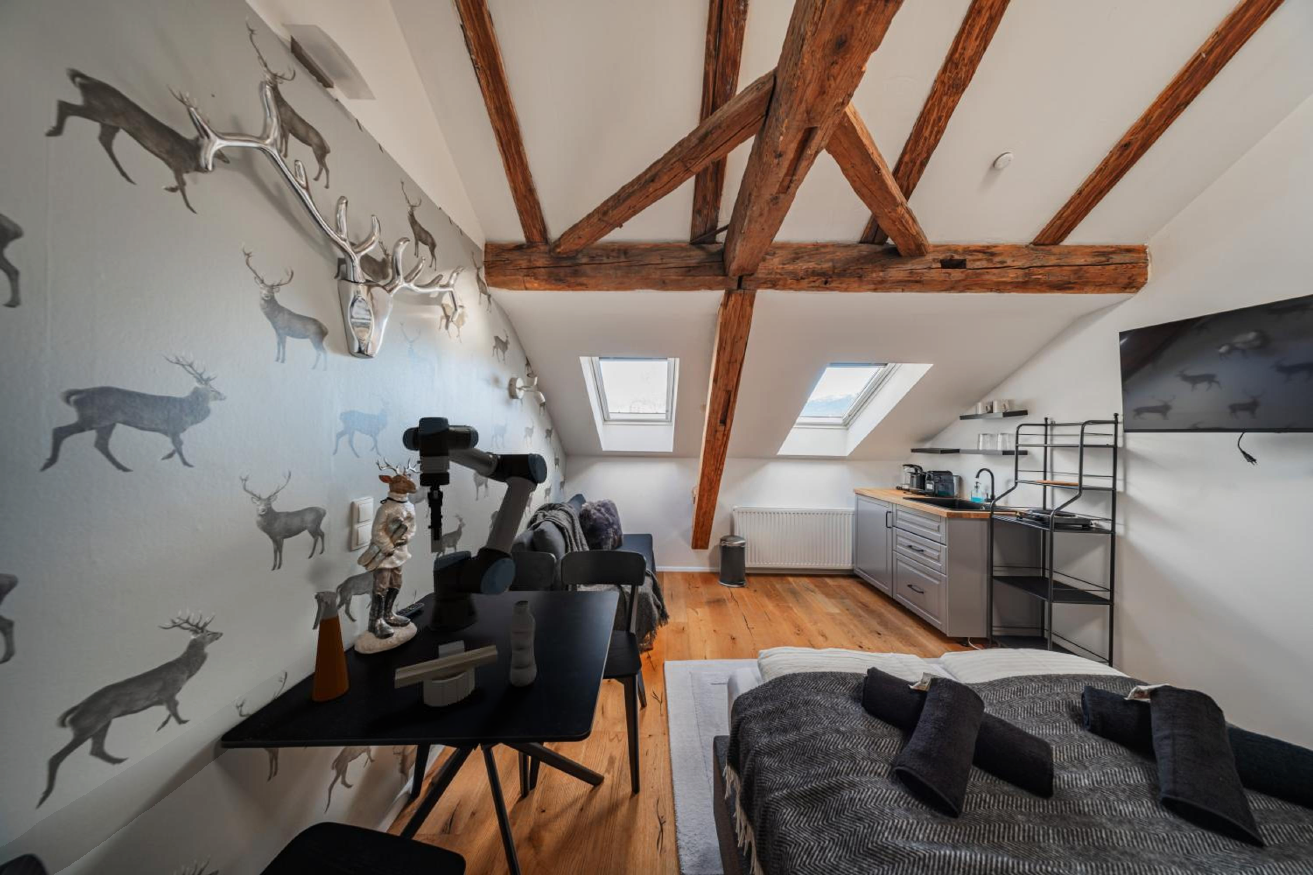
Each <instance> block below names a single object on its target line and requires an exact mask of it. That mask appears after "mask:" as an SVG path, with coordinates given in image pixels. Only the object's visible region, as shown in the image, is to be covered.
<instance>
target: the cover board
mask: <svg viewBox="0 0 1313 875" xmlns="http://www.w3.org/2000/svg"><path fill="white" fill-rule="evenodd" d="M497 662H499V655H498V649H497V648H496V645H495V644H492V645H490V646H484V647H481V648H477V649H472V650H470V651H469V650H468V651H465V652H464V653H460V654H456V655H452V656H448V657H444V658H440V659H439V658H437V659H433V660H429V661H424V662H419V663H417V664H416V663H415V664H412V665H409V666H404V667H400V668H396V669H395V674H394V675H395V677H394V689H398V688H402V687H406V686H409V685H414V684H418V683H421V682H423V681H425V680H429V679H433V678H437V677H440V676H444V675H448V674H452V673H455V672H459V671H463V670H467V669H471V668H474V669H475V668H477V667H482V666H485V665H489V664H494V663H497Z"/></svg>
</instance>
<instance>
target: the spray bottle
mask: <svg viewBox="0 0 1313 875" xmlns="http://www.w3.org/2000/svg"><path fill="white" fill-rule="evenodd" d="M338 598H339V594H338V593H336V592H335V591H331V590H323V591H318V592H316V594H315V595H314V599H315V600H316V603H317V610H316V616H315V617H314V623H313V626H312V631H313V630H315V631H316V630H318V633H317V634H318V635H317V642H316V644H317V646H316V656H315V666H314V675H313V683H312V684H313V685H312V695H311V697H312V700H313V701H314V702H317V703H318V702H319V703H320V702H321V703H322V702H326V701H332V700H333V699H337V698H338V697H341V696H342V695H344V694H345V693H346V692H347V691H348V689H349V688H350V685H349V679H348V678H349V677H348V672H347V671H348V670H347V664H346V658H345V657H346V656H345V650H344V642H343V636H342V629H341V622H340V616H339V606H338V605H337V603H338V602H337V600H338Z"/></svg>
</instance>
